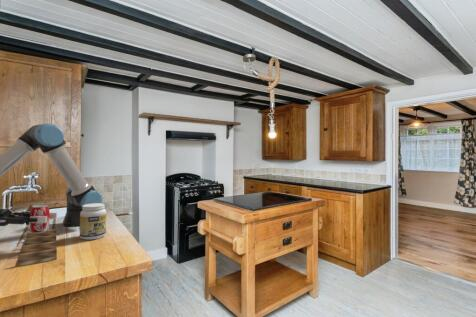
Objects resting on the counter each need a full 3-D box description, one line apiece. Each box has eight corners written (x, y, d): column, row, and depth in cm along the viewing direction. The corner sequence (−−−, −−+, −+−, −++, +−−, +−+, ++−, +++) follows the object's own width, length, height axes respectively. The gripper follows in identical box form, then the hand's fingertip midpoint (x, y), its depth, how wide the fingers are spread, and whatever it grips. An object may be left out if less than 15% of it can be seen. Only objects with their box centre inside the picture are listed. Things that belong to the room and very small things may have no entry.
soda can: (52, 230, 120) (53, 205, 120) (36, 235, 113) (37, 207, 113) (42, 229, 122) (42, 203, 122) (25, 233, 116) (26, 206, 116)
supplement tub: (87, 242, 129) (87, 208, 129) (75, 237, 136) (75, 205, 135) (110, 235, 139) (111, 204, 139) (98, 231, 146) (98, 201, 146)
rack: (56, 237, 136) (56, 229, 136) (56, 259, 108) (56, 249, 108) (26, 241, 129) (26, 232, 129) (19, 266, 101) (19, 255, 101)
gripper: (14, 220, 126) (64, 220, 128) (-24, 232, 106) (36, 232, 108) (14, 204, 126) (64, 205, 128) (-23, 214, 106) (36, 214, 108)
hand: (51, 217), depth 118 cm, fingers closed on soda can, 7 cm apart
